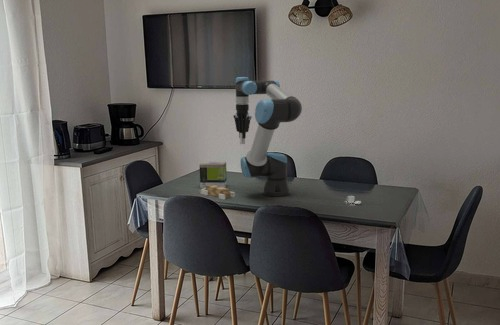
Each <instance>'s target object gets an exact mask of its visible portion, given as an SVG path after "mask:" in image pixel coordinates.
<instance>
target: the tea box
mask: <svg viewBox="0 0 500 325" xmlns="http://www.w3.org/2000/svg"><path fill="white" fill-rule="evenodd" d="M227 172H228V171H227V161H202V162H200V164H199V189H203V188H206V185H211V184H212V185H215V186H219V187H223V188H227V187H226V186H227V184H228V183H227V182H228V178H227V174H228V173H227Z"/></svg>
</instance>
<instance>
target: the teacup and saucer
mask: <svg viewBox="0 0 500 325" xmlns="http://www.w3.org/2000/svg"><path fill="white" fill-rule="evenodd" d="M347 201H348V202H347ZM354 201H355V202H354ZM345 202H346V203H348V204H350V203H351V204H350V205H355V204H358V205H361V204H362V201H361V200H355V196H354V195H348V196H347V198H346V200H345ZM352 203H353V204H352Z"/></svg>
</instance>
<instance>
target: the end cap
mask: <svg viewBox="0 0 500 325" xmlns="http://www.w3.org/2000/svg"><path fill="white" fill-rule="evenodd" d="M199 194H200V195H204V196H208V195H209V194H208V191H207V190H206V188H199Z"/></svg>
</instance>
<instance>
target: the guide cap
mask: <svg viewBox="0 0 500 325" xmlns="http://www.w3.org/2000/svg"><path fill="white" fill-rule="evenodd" d="M235 197H236V195H235V191H230V198H235ZM218 199H219V200H223V201H224V200H226V199H225V195H224V194H219V197H218Z"/></svg>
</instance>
